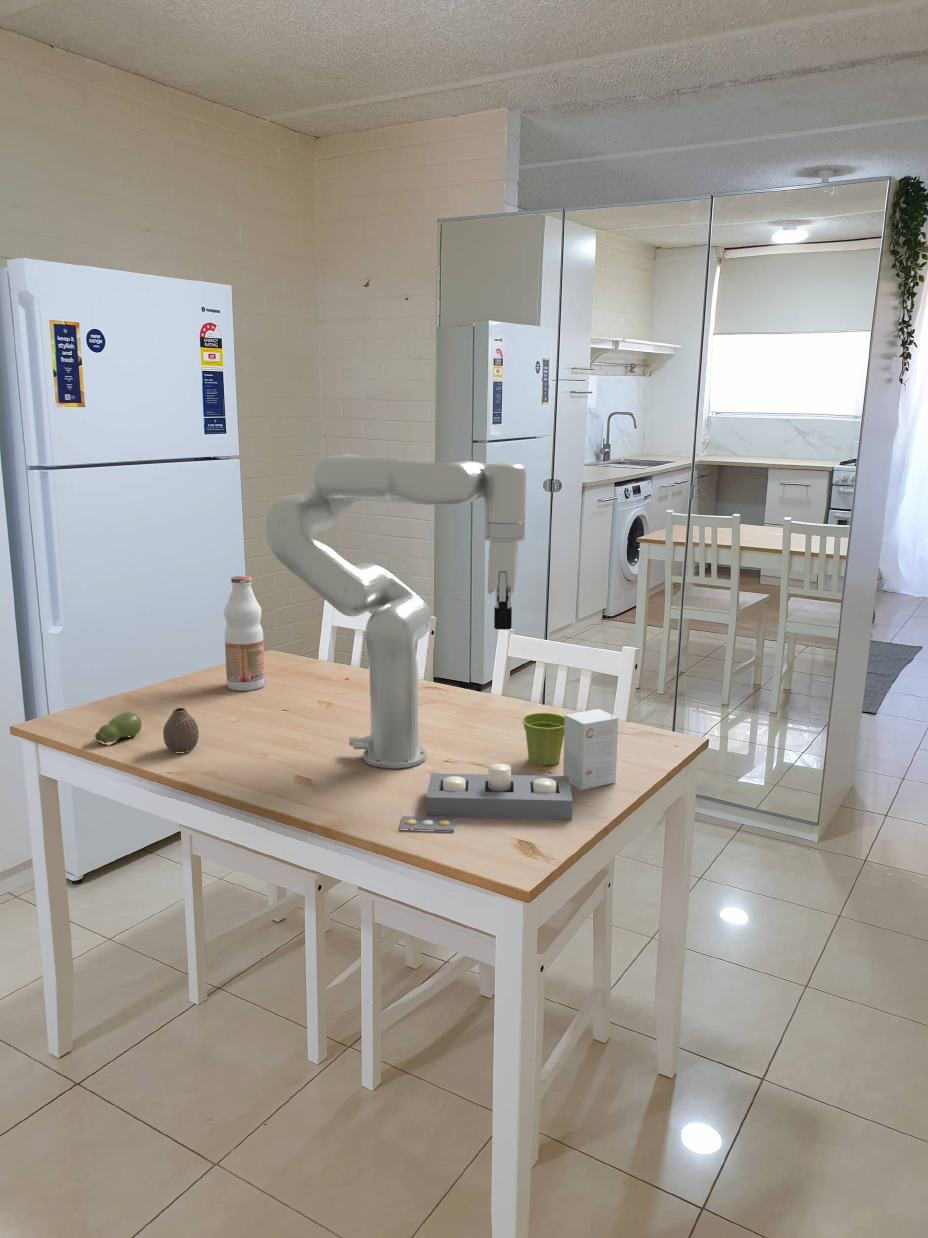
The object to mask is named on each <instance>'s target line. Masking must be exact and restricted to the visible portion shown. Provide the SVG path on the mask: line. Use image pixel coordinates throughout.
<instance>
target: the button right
mask: <svg viewBox="0 0 928 1238" xmlns="http://www.w3.org/2000/svg"><path fill="white" fill-rule="evenodd" d="M533 793H556V781H554V780H552V779H548V778H540V779H536V780H534V784H533Z"/></svg>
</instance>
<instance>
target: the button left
mask: <svg viewBox="0 0 928 1238" xmlns="http://www.w3.org/2000/svg"><path fill="white" fill-rule="evenodd" d="M465 784H466V781H465V779H464V778H462V777H457V776H451V777H447V778H444V779H443V791H465Z"/></svg>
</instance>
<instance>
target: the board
mask: <svg viewBox="0 0 928 1238" xmlns="http://www.w3.org/2000/svg"><path fill="white" fill-rule="evenodd" d="M451 776H457V777H462V778H464V779H465V781H466V784H465V791H443V779H444V778H447V777H451ZM540 778H548V779H552V780H554V781H556V793H533V784H534V780H536V779H540ZM425 798H426V801H425V802H426V803H425V804H426V807H425V808H426V811H425V812H426V816H425V817H432V816H443V817H455V818H478V819H479V818H480V819H481V818H482V819H483V818H484V819H485V818H486V819H521V820H522V819H524V820H525V819H527V820H528V819H529V820H533V819H534V820H564V821H565V820H570V821H571V820H573V804H574V803H573V795H572V790H571V784H570V783H569V778H568V776H563V775H534V774H533V775H528V774H527V775H525V774H511V788H510V789H509V790H507V791H493V790H490V789H489V788H488V773H487V774H485V773H484V774H481V773H479V774H478V773H474V774H473V773H472V774H471V773H436V772H435V773H432V772H431V773H430V777H429V783H428V788H427V793H426V797H425Z"/></svg>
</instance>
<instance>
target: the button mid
mask: <svg viewBox="0 0 928 1238" xmlns="http://www.w3.org/2000/svg"><path fill="white" fill-rule="evenodd" d="M487 769H488V772H487V775H488V788H489V789H490V790H493V791H507V790H509V789H510V788H511V775H512V767H511V765H508V764H505V763H493V764H490V765H489V766H488V768H487Z"/></svg>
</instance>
